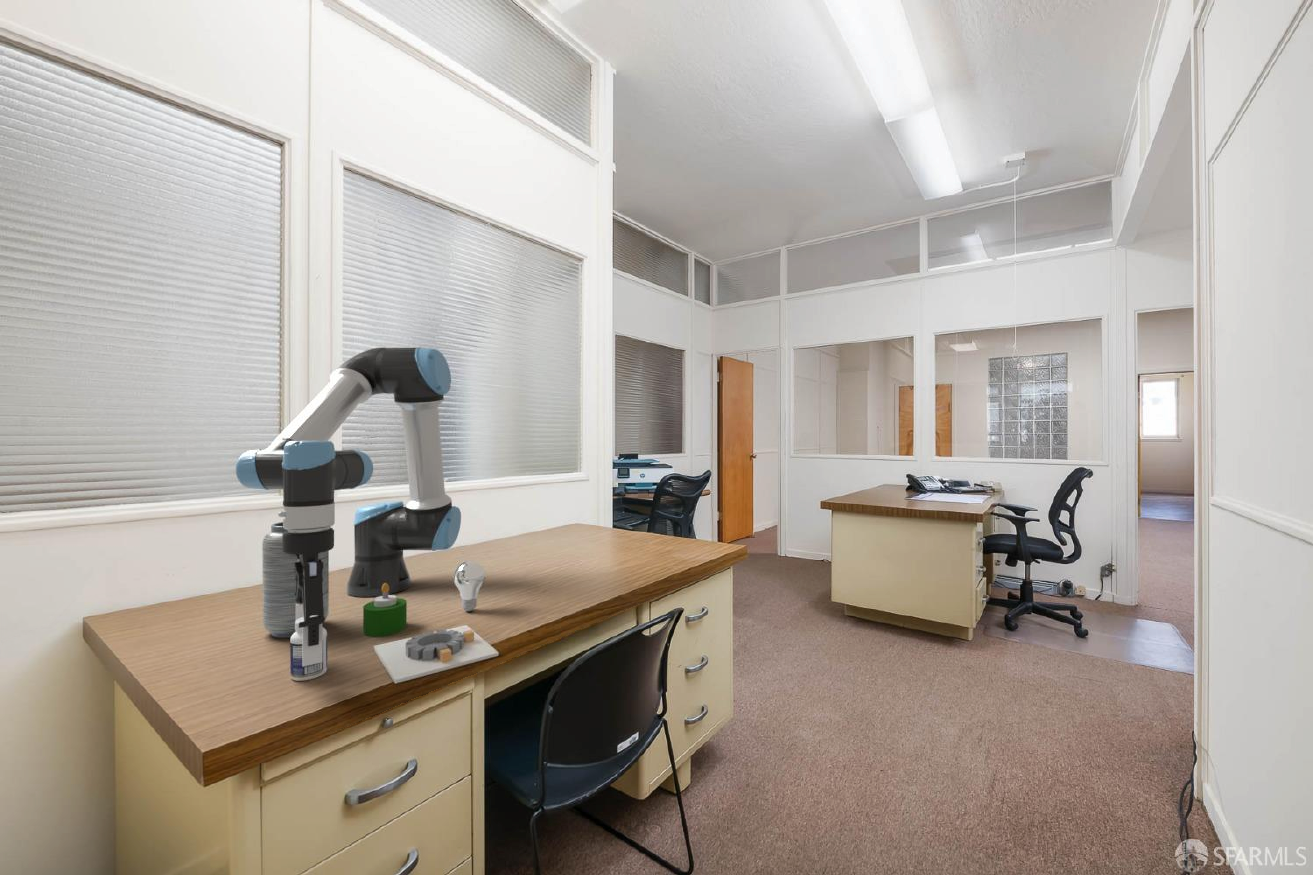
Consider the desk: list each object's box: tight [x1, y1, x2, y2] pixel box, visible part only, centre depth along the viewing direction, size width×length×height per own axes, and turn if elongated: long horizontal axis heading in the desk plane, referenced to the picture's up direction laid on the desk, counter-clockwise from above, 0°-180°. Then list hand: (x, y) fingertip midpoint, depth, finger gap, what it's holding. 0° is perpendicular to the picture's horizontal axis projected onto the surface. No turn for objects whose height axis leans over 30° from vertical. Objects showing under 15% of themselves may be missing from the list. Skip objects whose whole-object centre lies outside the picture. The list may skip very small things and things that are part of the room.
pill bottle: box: [289, 615, 328, 682], centre depth 91 cm, size 5×5×10 cm
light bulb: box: [453, 560, 486, 613], centre depth 123 cm, size 7×7×12 cm
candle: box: [362, 583, 408, 638], centre depth 112 cm, size 8×8×10 cm
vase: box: [261, 521, 330, 639], centre depth 111 cm, size 12×12×23 cm
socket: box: [373, 624, 500, 684], centre depth 100 cm, size 18×18×2 cm
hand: (308, 650), depth 91 cm, fingers open, 13 cm apart
